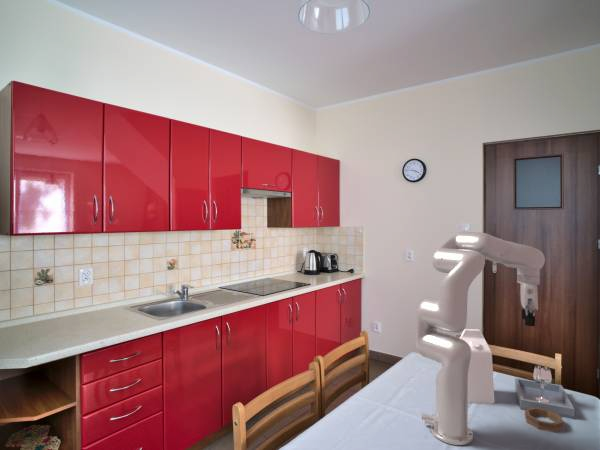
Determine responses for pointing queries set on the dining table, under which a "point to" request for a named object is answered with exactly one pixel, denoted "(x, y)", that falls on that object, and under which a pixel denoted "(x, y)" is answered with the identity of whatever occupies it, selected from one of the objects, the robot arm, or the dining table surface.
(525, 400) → the tray
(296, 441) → the dining table surface
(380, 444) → the dining table surface
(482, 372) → the milk
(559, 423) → the collar
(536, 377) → the wineglass
